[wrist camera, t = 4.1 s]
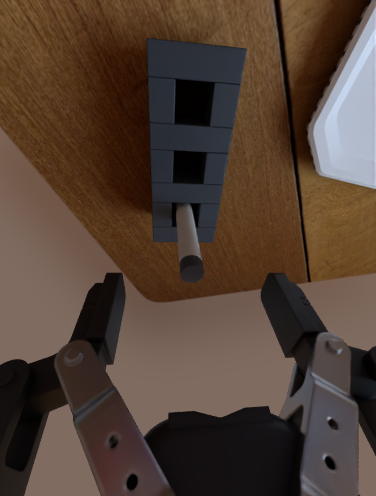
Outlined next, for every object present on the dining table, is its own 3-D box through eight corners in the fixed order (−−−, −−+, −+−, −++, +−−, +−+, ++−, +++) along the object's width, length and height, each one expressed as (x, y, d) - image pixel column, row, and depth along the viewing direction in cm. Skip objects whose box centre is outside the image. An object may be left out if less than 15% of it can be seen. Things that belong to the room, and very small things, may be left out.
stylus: (173, 196, 22) (178, 282, 13) (175, 183, 21) (182, 264, 12) (186, 198, 23) (201, 284, 13) (189, 185, 22) (207, 267, 12)
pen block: (205, 215, 24) (213, 242, 20) (155, 214, 23) (153, 241, 19) (227, 56, 16) (247, 48, 12) (151, 48, 15) (146, 37, 11)
